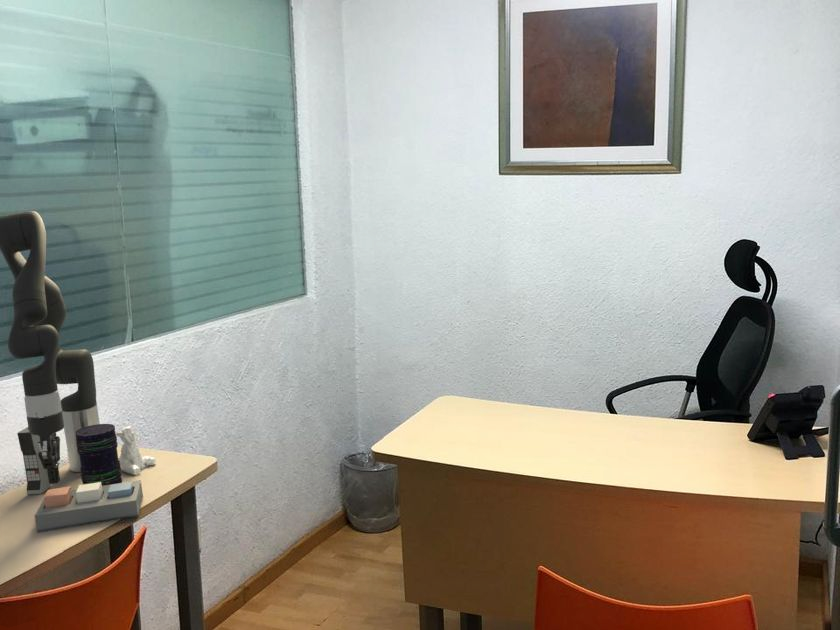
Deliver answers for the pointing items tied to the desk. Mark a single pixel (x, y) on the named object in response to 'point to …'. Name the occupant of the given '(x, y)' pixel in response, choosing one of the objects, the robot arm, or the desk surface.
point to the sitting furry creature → (132, 453)
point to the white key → (89, 492)
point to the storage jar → (98, 454)
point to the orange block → (58, 497)
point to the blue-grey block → (120, 490)
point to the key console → (90, 510)
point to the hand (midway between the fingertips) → (54, 482)
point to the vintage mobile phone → (33, 463)
